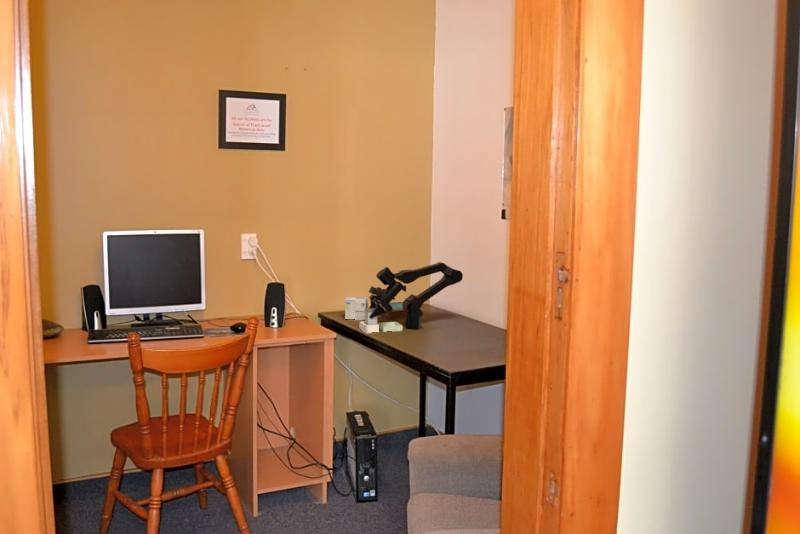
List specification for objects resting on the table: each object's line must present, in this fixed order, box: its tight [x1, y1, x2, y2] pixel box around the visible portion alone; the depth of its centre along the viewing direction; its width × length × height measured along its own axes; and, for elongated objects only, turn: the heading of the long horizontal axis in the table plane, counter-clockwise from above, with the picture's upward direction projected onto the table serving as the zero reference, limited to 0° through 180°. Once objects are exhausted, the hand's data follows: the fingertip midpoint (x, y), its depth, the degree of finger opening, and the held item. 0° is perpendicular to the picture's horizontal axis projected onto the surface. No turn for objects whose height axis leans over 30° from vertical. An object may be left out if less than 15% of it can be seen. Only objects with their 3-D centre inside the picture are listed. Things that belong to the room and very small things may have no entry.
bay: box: [358, 320, 380, 334], centre depth 328 cm, size 6×10×4 cm, turn 20°
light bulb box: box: [344, 296, 369, 321], centre depth 355 cm, size 11×7×11 cm, turn 84°
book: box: [380, 301, 408, 321], centre depth 368 cm, size 23×18×5 cm
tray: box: [377, 321, 403, 333], centre depth 331 cm, size 9×9×2 cm
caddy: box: [365, 307, 378, 325], centre depth 328 cm, size 4×5×10 cm
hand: (368, 316), depth 327 cm, fingers open, 5 cm apart
